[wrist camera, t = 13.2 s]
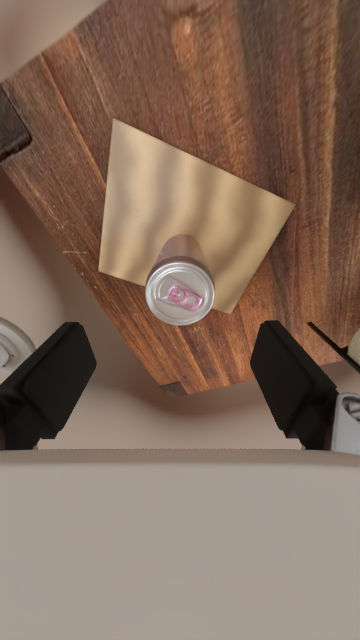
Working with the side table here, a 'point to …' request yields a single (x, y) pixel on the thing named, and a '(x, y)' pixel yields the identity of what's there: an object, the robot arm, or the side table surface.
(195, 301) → the beverage can
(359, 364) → the planter
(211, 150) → the side table surface
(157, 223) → the serving board
